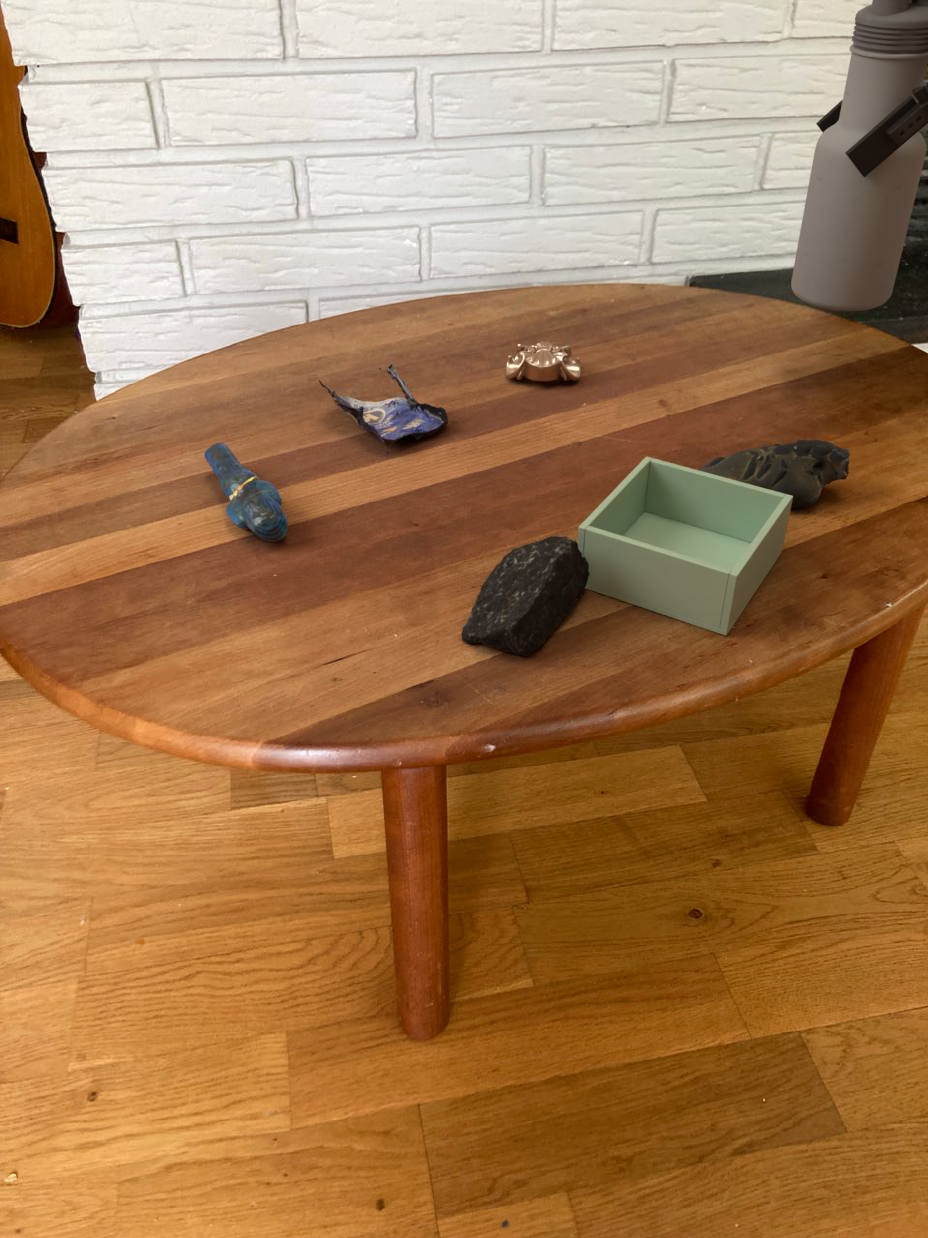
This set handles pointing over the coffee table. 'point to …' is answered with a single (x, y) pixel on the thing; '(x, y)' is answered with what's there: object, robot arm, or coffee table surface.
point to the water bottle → (838, 194)
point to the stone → (786, 468)
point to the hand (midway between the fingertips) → (839, 149)
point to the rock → (528, 595)
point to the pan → (684, 543)
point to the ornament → (543, 363)
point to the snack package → (393, 414)
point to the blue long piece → (248, 495)
